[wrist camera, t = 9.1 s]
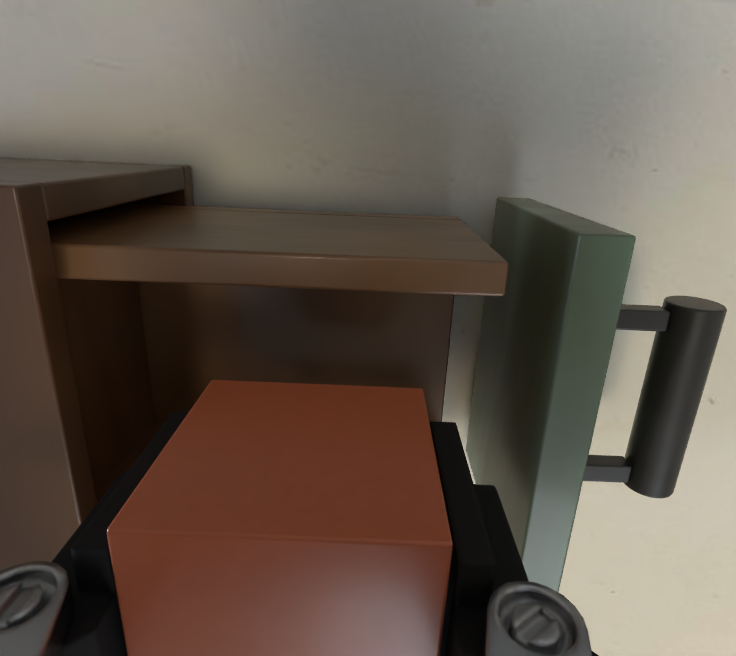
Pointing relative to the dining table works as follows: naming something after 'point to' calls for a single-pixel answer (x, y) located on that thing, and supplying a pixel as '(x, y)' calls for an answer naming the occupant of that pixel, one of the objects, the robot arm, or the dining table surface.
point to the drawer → (384, 335)
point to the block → (288, 528)
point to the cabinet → (51, 344)
